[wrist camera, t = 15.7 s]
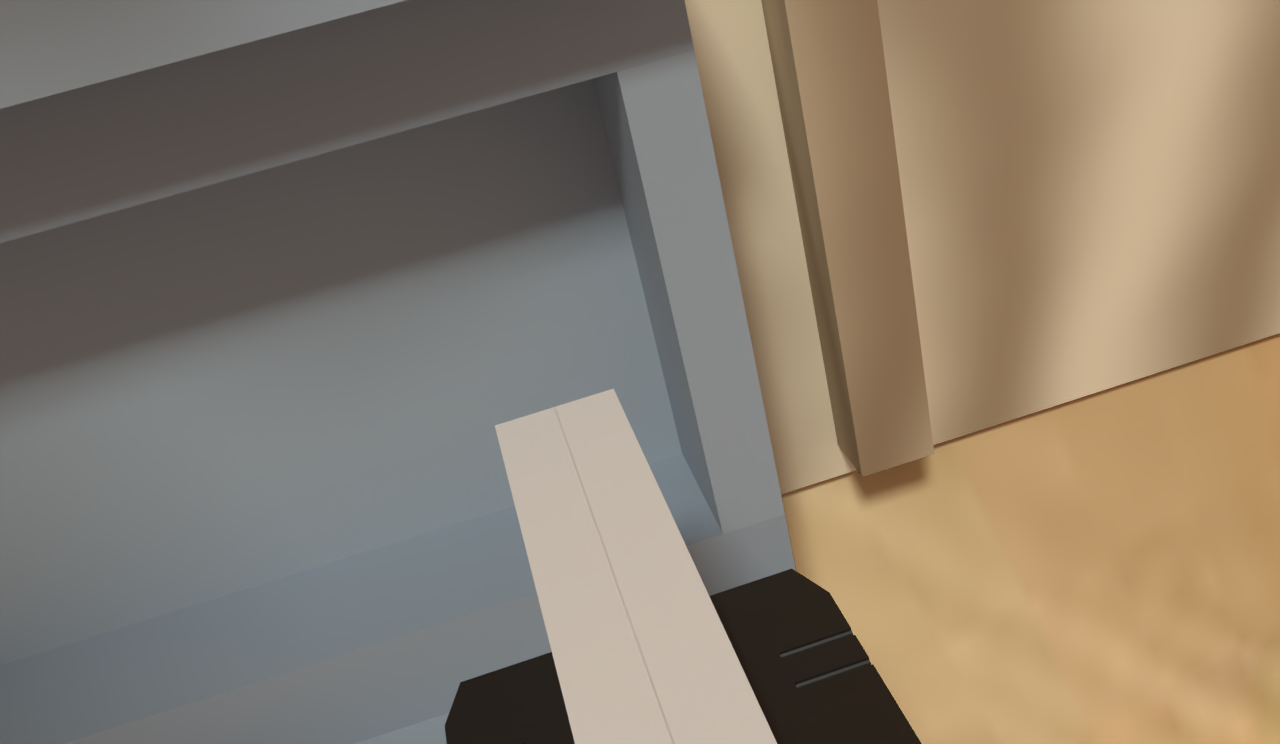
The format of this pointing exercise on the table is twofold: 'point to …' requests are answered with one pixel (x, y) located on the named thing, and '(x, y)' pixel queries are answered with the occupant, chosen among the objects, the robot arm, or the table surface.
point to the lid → (986, 205)
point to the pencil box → (339, 347)
